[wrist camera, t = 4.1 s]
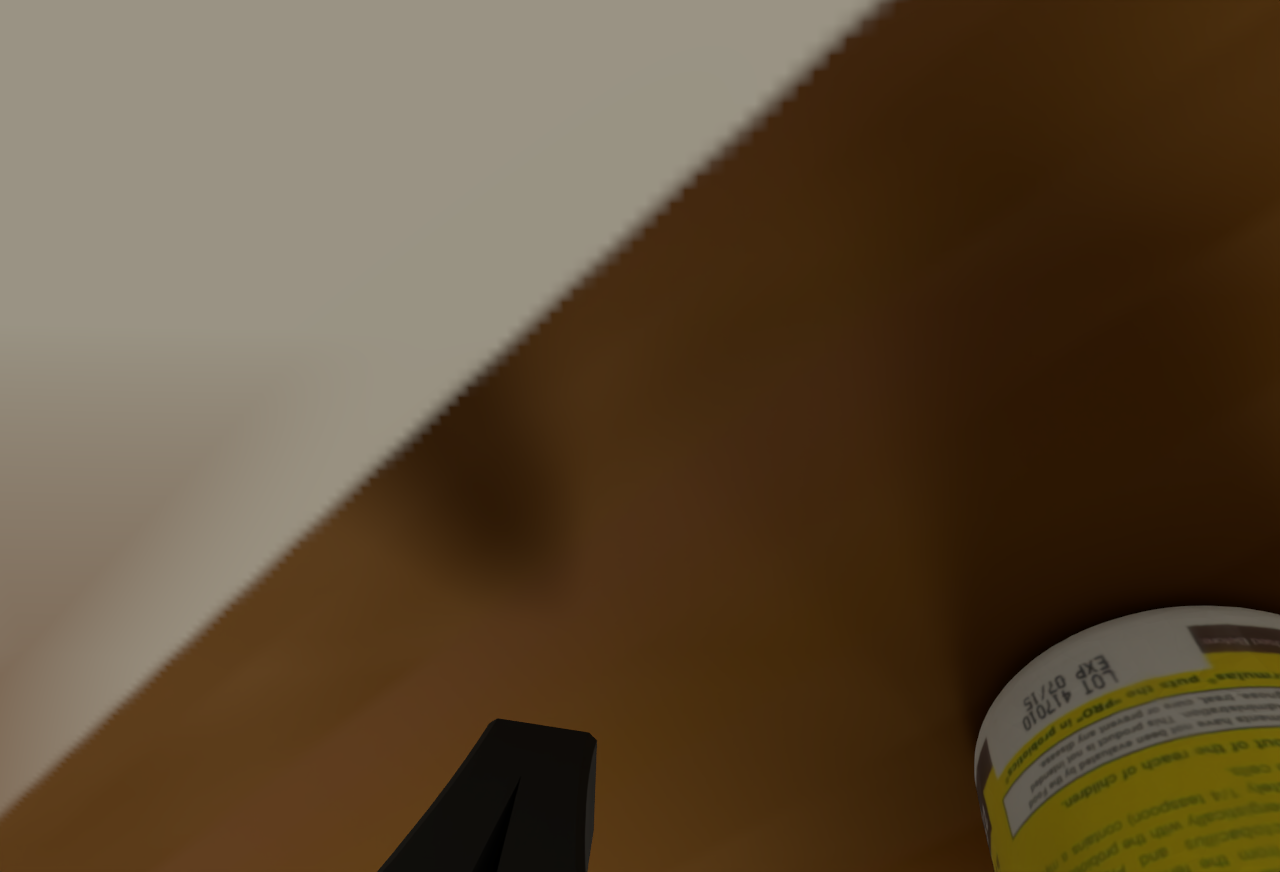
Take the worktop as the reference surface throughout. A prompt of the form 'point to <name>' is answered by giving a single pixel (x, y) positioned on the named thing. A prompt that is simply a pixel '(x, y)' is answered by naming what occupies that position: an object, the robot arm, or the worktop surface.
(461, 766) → the robot arm
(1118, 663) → the supplement bottle
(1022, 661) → the worktop surface
